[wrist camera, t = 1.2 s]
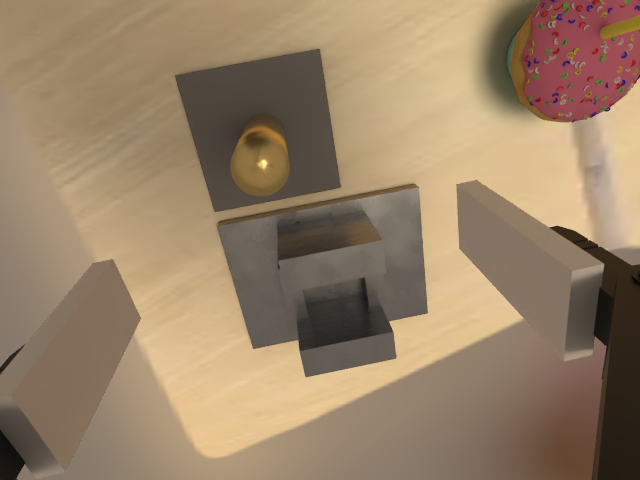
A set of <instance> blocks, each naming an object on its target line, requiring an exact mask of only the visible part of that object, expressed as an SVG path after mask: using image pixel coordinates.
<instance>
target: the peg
mask: <svg viewBox="0 0 640 480" xmlns="http://www.w3.org/2000/svg"><path fill="white" fill-rule="evenodd" d="M230 170H231V175H232V178H233V180H234V182H235V183H236V184H237V186H238V187H239V188H240V189H241V190H243V191H244V192H246V193H248V194H250V195H253V196H268V195H272V194H274V193H276V192H277V191H279V190H280V189H281V188H282V187H283V186H284V185H285V183H286V181H287V179H288V176H289V172H290V165H289V159H288V152H287V146H286V140H285V134H284V129H283V127H282V125H281V124H280V122H279V121H278V120H277V119H276V118H274V117H272V116H270V115H265V114H261V115H256V116H254V117H252V118H251V119H250V120H249V121H248V122H247V123H246V125H245V127H244V129H243V132H242V134H241V137H240V139H239V141H238V144H237V146H236V148H235V151H234V153H233V156H232V158H231V163H230Z"/></svg>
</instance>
